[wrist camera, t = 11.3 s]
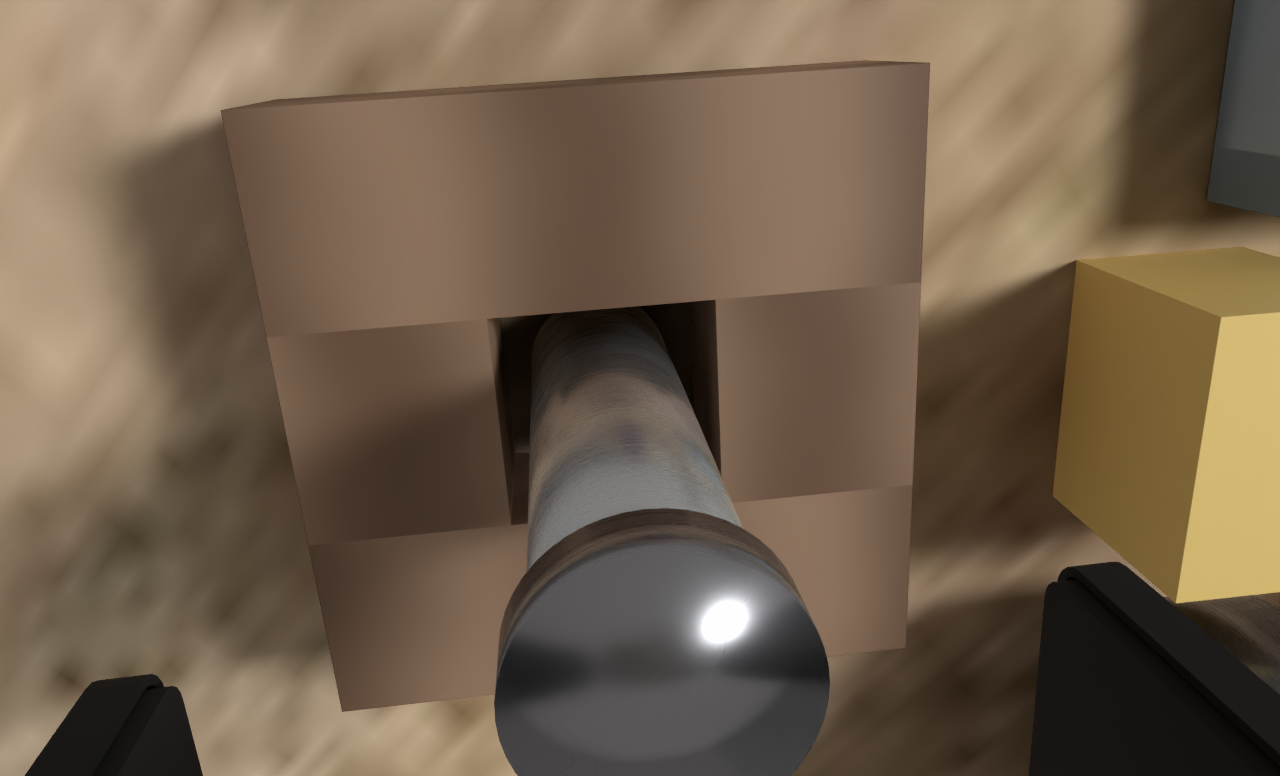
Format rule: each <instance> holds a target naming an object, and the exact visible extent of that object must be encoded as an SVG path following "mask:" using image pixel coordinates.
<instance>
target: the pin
mask: <svg viewBox="0 0 1280 776" xmlns="http://www.w3.org/2000/svg"><path fill="white" fill-rule="evenodd" d="M829 686H830V680H829V666H828V661H827V657H826V652H825V648H824V645H823V643H822V640H821V638H820V635H819V633H818V630H817V628H816V626H815V624H814V622H813V620H812V618H811V616H810V614H809V612H808V610H807V607H806V605H805V603H804V601H803V599H802V597H801V595H800V593H799V591H798V589H797V587H796V584H795V582H794V580H793V579H792V577H791V575H790V574H789V572H788V570H787V569H786V567H785V565H784V564H783V563H782V562H781V561H780V559H779V558H778V557H777V556H776V555H775V553H774V552H773V551H772V550H771V549H770V548H768V547H767V546H766V545H765V544H764V543H763V542H762V541H761V540H760V539H758V538H757V537H755V536H754V535H752V534H751V533H749V532H748V531H746V530H745V529H743V526H742V524H741V522H740V519H739V517H738V515H737V512H736V510H735V508H734V505H733V503H732V501H731V498H730V496H729V494H728V491H727V489H726V486H725V484H724V482H723V479H722V477H721V475H720V472H719V470H718V468H717V465H716V463H715V461H714V458H713V456H712V453H711V451H710V449H709V446H708V444H707V442H706V439H705V437H704V435H703V432H702V430H701V428H700V425H699V423H698V421H697V418H696V416H695V413H694V411H693V409H692V406H691V404H690V402H689V399H688V397H687V395H686V392H685V390H684V388H683V385H682V383H681V380H680V378H679V376H678V373H677V371H676V369H675V366H674V364H673V362H672V359H671V357H670V355H669V352H668V350H667V348H666V345H665V343H664V340H663V338H662V336H661V333H660V331H659V329H658V327H657V326H656V324H655V322H654V321H653V320H652V318H651V317H650V316H649V315H648V314H647V313H646V312H645V311H644V310H643V309H641V308H640V307H639V306H634V307H622V308H610V309H599V310H587V311H575V312H563V313H552V314H551V315H550V316H549V317H548V318H547V319H546V321H545V322H544V323H543V325H542V326H541V328H540V330H539V332H538V334H537V337H536V339H535V342H534V346H533V353H532V379H531V419H530V458H529V498H528V537H527V572H526V574H525V575H524V576H523V577H522V579H521V580H520V582H519V584H518V585H517V587H516V589H515V590H514V592H513V594H512V596H511V598H510V600H509V603H508V605H507V608H506V610H505V612H504V616H503V620H502V624H501V628H500V636H499V645H498V659H497V673H496V688H495V702H494V705H495V722H496V727H497V731H498V736H499V740H500V743H501V745H502V748H503V750H504V753H505V755H506V757H507V759H508V761H509V763H510V764H511V766H512V768H513V769H514V771H515V773H516V774H517V775H518V776H790V775H791V774H792V773H793V772H794V771H795V770H796V769H797V767H798V766H799V765H800V763H801V762H802V761H803V759H804V758H805V757H806V755H807V754H808V752H809V750H810V749H811V747H812V745H813V743H814V741H815V740H816V738H817V736H818V733H819V731H820V728H821V726H822V723H823V720H824V717H825V713H826V709H827V704H828V698H829Z"/></svg>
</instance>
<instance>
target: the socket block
mask: <svg viewBox="0 0 1280 776" xmlns="http://www.w3.org/2000/svg"><path fill="white" fill-rule="evenodd" d="M929 77H930V63H919V62H891V61H851V62H836V63H821V64H806V65H791V66H776V67H761V68H746V69H731V70H716V71H700V72H685V73H670V74H655V75H640V76H625V77H610V78H595V79H580V80H565V81H550V82H535V83H520V84H504V85H489V86H474V87H459V88H444V89H429V90H414V91H399V92H384V93H369V94H354V95H339V96H324V97H308V98H293V99H278V100H271V101H266V102H261V103H256V104H251V105H246V106H240V107H235V108H230V109H225V110H221V114H222V119H223V124H224V129H225V134H226V139H227V144H228V149H229V154H230V159H231V164H232V169H233V174H234V178H235V183H236V188H237V193H238V198H239V203H240V208H241V213H242V218H243V223H244V228H245V233H246V238H247V243H248V248H249V253H250V258H251V263H252V268H253V273H254V278H255V283H256V287H257V292H258V297H259V302H260V307H261V312H262V317H263V322H264V327H265V332H266V337H267V342H268V347H269V352H270V357H271V362H272V367H273V372H274V377H275V382H276V387H277V392H278V396H279V401H280V406H281V411H282V416H283V421H284V426H285V431H286V436H287V441H288V446H289V451H290V456H291V461H292V466H293V471H294V476H295V481H296V486H297V491H298V496H299V501H300V505H301V510H302V515H303V520H304V525H305V530H306V535H307V540H308V545H309V550H310V555H311V560H312V565H313V570H314V575H315V580H316V585H317V590H318V595H319V600H320V605H321V610H322V614H323V619H324V624H325V629H326V634H327V639H328V644H329V649H330V654H331V659H332V664H333V669H334V674H335V679H336V684H337V689H338V694H339V699H340V704H341V709H342V712H344V711H353V710H362V709H370V708H379V707H388V706H397V705H406V704H414V703H423V702H432V701H441V700H450V699H459V698H467V697H476V696H485V695H494V694H495V688H496V673H497V659H498V645H499V636H500V628H501V624H502V620H503V616H504V612H505V610H506V608H507V605H508V603H509V600H510V598H511V596H512V594H513V592H514V590H515V589H516V587H517V585H518V584H519V582H520V580H521V579H522V577H523V576H524V575H525V574H526V572H527V537H528V498H529V458H530V453H521V454H515V448H514V439H513V430H512V421H511V413H510V404H509V395H508V386H507V378H506V369H505V360H504V351H503V342H502V334H501V325H500V318H504V317H515V316H527V315H539V314H551V313H563V312H575V311H587V310H599V309H610V308H622V307H634V306H646V305H658V304H670V303H682V302H690V325H691V348H692V371H693V394H694V413H695V416H696V418H697V421H698V423H699V425H700V428H701V430H702V432H703V435H704V437H705V439H706V442H707V444H708V446H709V449H710V451H711V453H712V456H713V458H714V461H715V463H716V465H717V468H718V470H719V472H720V475H721V477H722V479H723V482H724V484H725V486H726V489H727V491H728V494H729V496H730V498H731V501H732V503H733V505H734V508H735V510H736V512H737V515H738V517H739V519H740V522H741V524H742V526H743V529H745V530H746V531H748V532H749V533H751V534H752V535H754V536H755V537H757V538H758V539H760V540H761V541H762V542H763V543H764V544H765V545H766V546H767V547H768V548H770V549H771V550H772V551H773V552H774V553H775V555H776V556H777V557H778V558H779V559H780V561H781V562H782V563H783V564H784V565H785V567H786V569H787V570H788V572H789V574H790V575H791V577H792V579H793V580H794V582H795V584H796V587H797V589H798V591H799V593H800V595H801V597H802V599H803V601H804V603H805V605H806V607H807V610H808V612H809V614H810V616H811V618H812V620H813V622H814V624H815V626H816V628H817V630H818V633H819V635H820V638H821V640H822V643H823V645H824V648H825V652H826V657H829V656H838V655H847V654H856V653H865V652H873V651H882V650H891V649H900V648H906V632H907V608H908V584H909V560H910V536H911V512H912V488H913V464H914V439H915V415H916V391H917V367H918V343H919V319H920V295H921V271H922V246H923V222H924V198H925V174H926V150H927V126H928V102H929Z"/></svg>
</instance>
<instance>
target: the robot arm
mask: <svg viewBox="0 0 1280 776" xmlns="http://www.w3.org/2000/svg"><path fill="white" fill-rule="evenodd" d="M25 776H203V774H202V771H201V767H200V763H199V759H198V755H197V751H196V748H195V744H194V740H193V736H192V732H191V728H190V725H189V721H188V717H187V713H186V709H185V705H184V702H183V698H182V695H181V693H180V691H179V690H178V688H177V687H174V686H170V687H164V686H163V683H162V681H161V680H160V679H159V677H158V676H156V675H153V674H149V675H140V676H132V677H123V678H115V679H106V680H98V681H95V682H92V683H91V684H90V685H89V686H88V687H87V688H86V689H85V691H84V692H83V693H82V695H81V696H80V698H79V699H78V701H77V702H76V703H75V705H74V706H73V708H72V709H71V711H70V712H69V713H68V715H67V716H66V718H65V719H64V720H63V722H62V723H61V725H60V726H59V728H58V729H57V730H56V732H55V733H54V735H53V736H52V738H51V739H50V740H49V742H48V743H47V745H46V746H45V747H44V749H43V750H42V752H41V753H40V755H39V756H38V757H37V759H36V760H35V762H34V763H33V764H32V766H31V767H30V769H29V770H28V772H27V773H26V774H25ZM1029 776H1280V694H1279V693H1277V692H1276V691H1275V690H1274V689H1273V688H1271V687H1270V686H1269V685H1268V684H1267V683H1265V682H1264V681H1263V680H1262V679H1261V678H1259V677H1258V676H1257V675H1256V674H1255V673H1253V672H1252V671H1251V670H1250V669H1249V668H1247V667H1246V666H1245V665H1244V664H1243V663H1241V662H1240V661H1239V660H1238V659H1237V658H1235V657H1234V656H1233V655H1232V654H1231V653H1229V652H1228V651H1227V650H1226V649H1225V648H1223V647H1222V646H1221V645H1220V644H1219V643H1217V642H1216V641H1215V640H1214V639H1213V638H1211V637H1210V636H1209V635H1208V634H1207V633H1205V632H1204V631H1203V630H1202V629H1201V628H1199V627H1198V626H1197V625H1196V624H1195V623H1193V622H1192V621H1191V620H1190V619H1189V618H1187V617H1186V616H1185V615H1184V614H1183V613H1181V612H1180V611H1179V610H1178V609H1177V608H1175V607H1174V606H1173V605H1172V604H1171V603H1170V602H1168V601H1167V600H1166V599H1165V598H1164V597H1162V596H1161V595H1160V594H1159V593H1158V592H1156V591H1155V590H1154V589H1153V588H1152V587H1150V586H1149V585H1148V584H1147V583H1146V582H1144V581H1143V580H1142V579H1141V578H1140V577H1138V576H1137V575H1136V574H1135V573H1134V572H1132V571H1131V570H1130V569H1129V568H1128V567H1126V566H1125V565H1123V564H1121V563H1119V562H1107V563H1099V564H1090V565H1082V566H1073V567H1067V568H1065V569H1064V570H1062V572H1061V573H1060V575H1059V577H1058V582H1052V583H1050V584H1049V585H1048V587H1047V589H1046V592H1045V599H1044V610H1043V621H1042V633H1041V644H1040V655H1039V666H1038V678H1037V689H1036V700H1035V711H1034V723H1033V734H1032V745H1031V756H1030V768H1029Z"/></svg>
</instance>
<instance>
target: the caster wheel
mask: <svg viewBox="0 0 1280 776" xmlns="http://www.w3.org/2000/svg"><path fill="white" fill-rule="evenodd" d="M1164 598H1165V599H1166V600H1167V601H1168V602H1170V603H1171V604H1172V605H1173V606H1174V607H1175V608H1177V609H1178V610H1179V611H1180V612H1181V613H1183V614H1184V615H1185V616H1186V617H1187V618H1189V619H1190V620H1191V621H1192V622H1193V623H1195V624H1196V625H1197V626H1198V627H1199V628H1201V629H1202V630H1203V631H1204V632H1205V633H1207V634H1208V635H1209V636H1210V637H1211V638H1213V639H1214V640H1215V641H1216V642H1217V643H1219V644H1220V645H1221V646H1222V647H1223V648H1225V649H1226V650H1227V651H1228V652H1229V653H1231V654H1232V655H1233V656H1234V657H1235V658H1237V659H1238V660H1239V661H1240V662H1241V663H1243V664H1244V665H1245V666H1246V667H1247V668H1249V669H1250V670H1251V671H1252V672H1253V673H1255V674H1256V675H1257V676H1258V677H1259V678H1261V679H1262V680H1263V681H1264V682H1265V683H1267V684H1268V685H1269V686H1270V687H1271V688H1273V689H1274V690H1275V691H1276V692H1277V693H1279V694H1280V609H1279V608H1277V607H1276V606H1274V605H1272V604H1270V603H1268V602H1266V601H1264V600H1262V599H1260V598H1257V597H1254V596H1251V595H1249V596H1239V597H1230V598H1221V599H1212V600H1203V601H1194V602H1184V603H1175V602H1174V601H1172V600H1171V599H1170V598H1169V597H1164Z"/></svg>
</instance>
